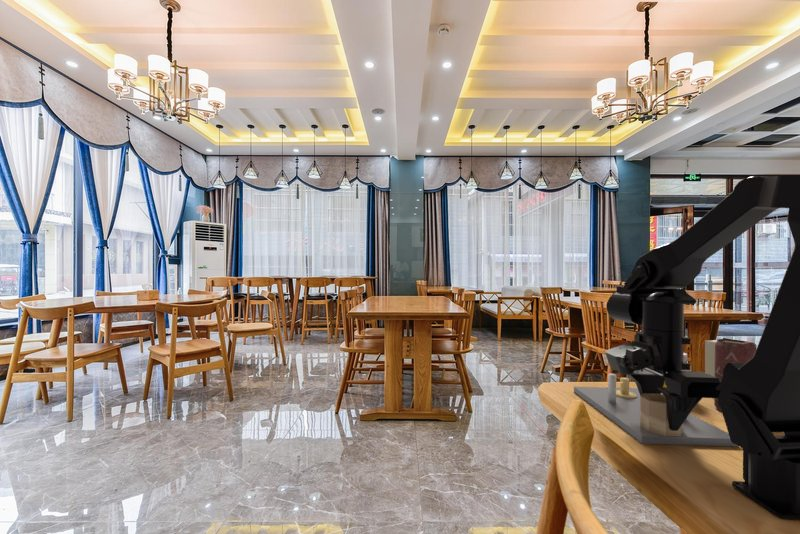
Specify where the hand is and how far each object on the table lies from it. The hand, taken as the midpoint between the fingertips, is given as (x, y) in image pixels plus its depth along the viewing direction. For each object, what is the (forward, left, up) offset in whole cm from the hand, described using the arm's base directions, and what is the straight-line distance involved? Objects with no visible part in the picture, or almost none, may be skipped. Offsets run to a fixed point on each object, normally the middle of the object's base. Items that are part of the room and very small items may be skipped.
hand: (661, 422), depth 61 cm
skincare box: (+22, -28, -2) cm, 36 cm away
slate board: (+9, -2, -2) cm, 10 cm away
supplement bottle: (+20, -16, -2) cm, 26 cm away
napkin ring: (0, 0, -1) cm, 1 cm away
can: (+12, -22, -2) cm, 26 cm away
